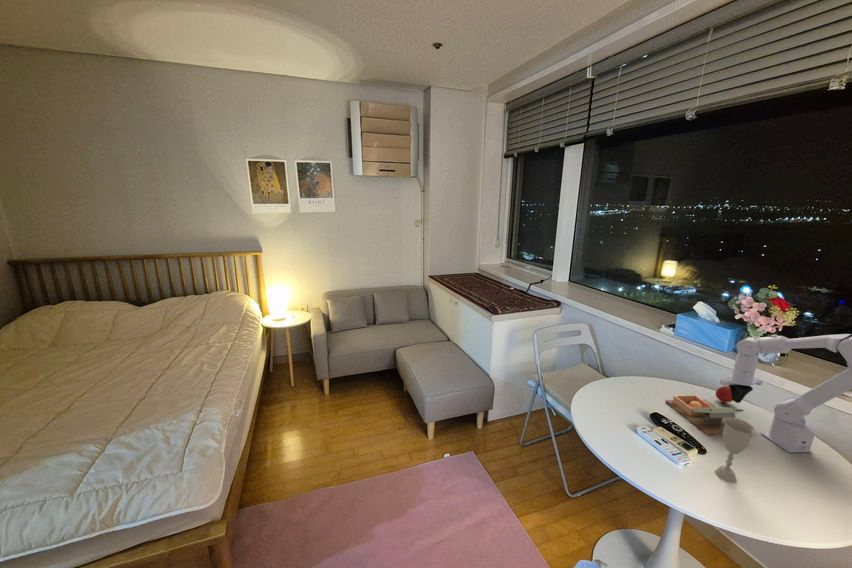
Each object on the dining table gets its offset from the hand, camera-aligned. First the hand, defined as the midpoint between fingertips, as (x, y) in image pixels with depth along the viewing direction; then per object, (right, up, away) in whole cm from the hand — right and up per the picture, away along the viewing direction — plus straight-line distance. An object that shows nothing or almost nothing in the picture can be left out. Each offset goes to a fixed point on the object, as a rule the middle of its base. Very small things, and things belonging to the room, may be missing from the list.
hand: (736, 401), depth 126 cm
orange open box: (-12, -6, +6) cm, 15 cm away
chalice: (-27, -14, -25) cm, 40 cm away
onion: (+6, -5, +12) cm, 14 cm away
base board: (-10, -7, +2) cm, 12 cm away
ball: (-12, -3, +4) cm, 13 cm away
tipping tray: (-7, -4, -4) cm, 9 cm away
